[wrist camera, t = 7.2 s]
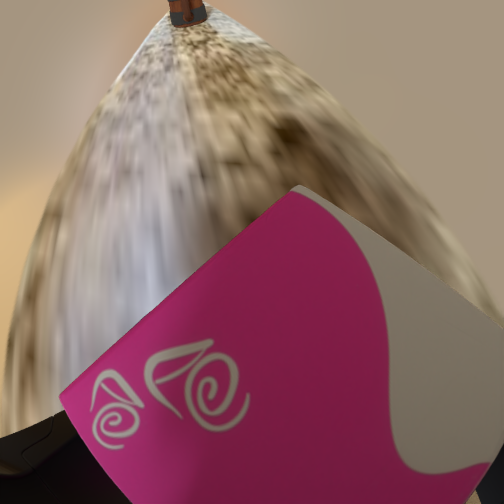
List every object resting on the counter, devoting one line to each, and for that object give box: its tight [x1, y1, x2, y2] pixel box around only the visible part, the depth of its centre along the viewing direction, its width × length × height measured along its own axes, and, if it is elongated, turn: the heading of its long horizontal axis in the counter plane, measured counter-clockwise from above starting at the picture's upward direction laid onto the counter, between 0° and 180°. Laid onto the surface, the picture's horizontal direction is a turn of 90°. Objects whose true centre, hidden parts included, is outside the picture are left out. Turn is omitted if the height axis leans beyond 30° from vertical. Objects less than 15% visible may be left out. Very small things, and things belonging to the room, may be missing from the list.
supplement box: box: [59, 185, 504, 504], centre depth 8 cm, size 6×6×12 cm
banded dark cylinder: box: [168, 0, 207, 28], centre depth 53 cm, size 9×12×12 cm
